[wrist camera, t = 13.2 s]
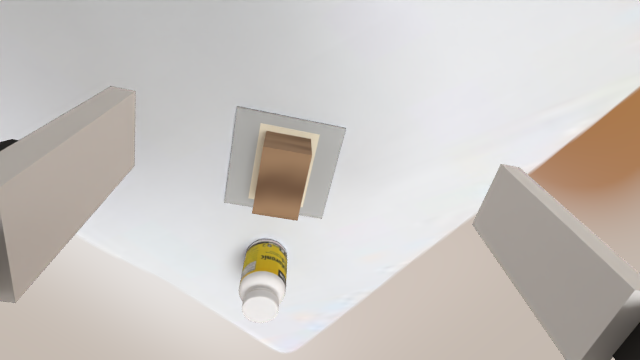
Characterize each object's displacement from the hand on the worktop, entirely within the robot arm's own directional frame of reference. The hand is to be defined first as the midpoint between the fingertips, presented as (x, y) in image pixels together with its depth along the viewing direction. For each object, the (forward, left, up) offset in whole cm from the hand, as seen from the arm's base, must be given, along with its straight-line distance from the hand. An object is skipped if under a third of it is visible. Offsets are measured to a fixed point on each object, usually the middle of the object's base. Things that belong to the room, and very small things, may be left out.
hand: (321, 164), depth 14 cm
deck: (0, -14, -28) cm, 31 cm away
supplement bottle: (0, -27, -29) cm, 40 cm away
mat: (0, -14, -29) cm, 32 cm away
